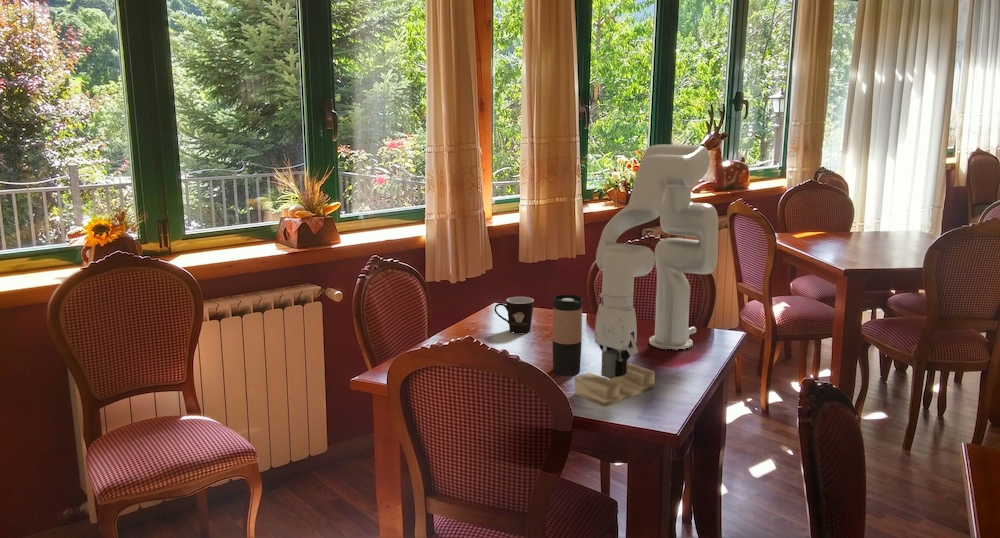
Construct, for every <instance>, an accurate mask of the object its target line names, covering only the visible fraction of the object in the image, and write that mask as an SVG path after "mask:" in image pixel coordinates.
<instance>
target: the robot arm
mask: <svg viewBox="0 0 1000 538" xmlns="http://www.w3.org/2000/svg"><path fill="white" fill-rule="evenodd" d="M710 163H711V156H710V152H709V150H708V149H707V148H706V147H705V146H702V145H696V144H695V145H693V144H692V145H689V144H654V145H650V146H648V147H647V148H646V150H645V152H644V158H642V160H641V161H640V163H639V166H638V169H637V172H636V175H635V180H634V183H633V186H632V190H631V194H630V198H629V200H628V203H627V205H626V206H625V207H624V208H622V209H621V210H619V212H617V213H615V215H614V216H613V217H612V218H611V219H610V220H609V221H608V222H607V224H606V225H605V226H604V228H603V229H602V232H601V236H600V239H599V242H598V246H597V248H596V255H595V263H596V266H597V267H598V269H599V270H600V271H602V281H601V284H602V285H601V292H600V294H599V297H600V298H601V303H599V305H598V308H597V311H596V318H595V323H594V324H595V325H594V326H595V327H594V343H596V345H597V346H598V347H599V349H600V350H601V353H602V352H604V351H608V350H611V349H615V350H617V352H618V361H616V374H615V375H616V377H620V376H623V375H625V374H626V360H629V359H630V358H631V356H635V355H637V354H639V349H638V347H637V336H638V334H637V333H638V331H637V330H638V329H637V316H636V308H634V292H635V278H637V277H645V276H647V275H648V274H650V273H651V272H652V270H653V268H654V267H655V268H656V294H655V297H656V299H655V321H654V322H655V324H654V335H651V336H650V337H649V338H648V340H649V341H648V343H649V344H650V346H653V347H654V348H657V349H661V350H667V349H669V351H679V350H678V349H683V350H687V349H686V348H688V349H690V348H691V346H692V347H693V345H694V344H693V343H694V342H693V340H692V339H691V338H690V335H693V334H695V333H697V328H696V327H695V326H691V327H689V318H690V302H691V301H690V298H691V285H690V282H689V280H688V278H687V277H686V275H685V273H687V274H688V273H689V274H696V275H697V274H698V275H711V274H712V273H713V272H715V270H716V268H717V263H718V254H719V249H718V248H719V245H718V244H719V215H718V211H717V209H716V207H714V206H713V205H712V204H710V203H706V202H705V203H704V202H693V200H692V198H691V197H692V195H691V193H692V189H691V188H692V187H694V186H695V185H697V184H698V182H699V181H701V180H702V179H703V178H704V177H705V176H706V174H707V173H708V170H709V167H710V165H711V164H710ZM657 218H659V224H660V228H661V230H662V232H663V233H665V234H668V235H675V236H683V237H684V236H685V237H693V238H697V239H690V238H679V237H678V238H677V237H666V238H662V239H661V240H659V241H658V242H657V243H656V245H655V248H654V251H653V250H652V249H651V248H650V247H648V246H645V245H640V244H639V245H637V244H629V243H619V242H617V241H618V238H619V237H620V236H621V235H622V234H623V233H625V232H626V231H629V229H632V228H634V227H637V226H640V225H643V224H645V223H649V222H651V221H653V220H656V219H657ZM689 347H690V348H689ZM670 349H672V350H670ZM673 349H674V350H673ZM623 351H624V354H623Z"/></svg>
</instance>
